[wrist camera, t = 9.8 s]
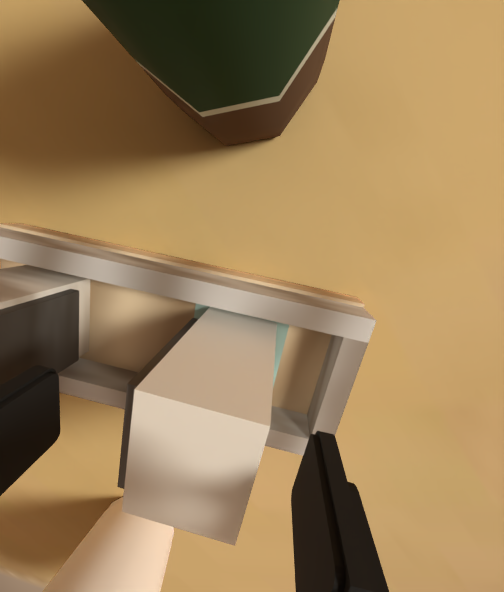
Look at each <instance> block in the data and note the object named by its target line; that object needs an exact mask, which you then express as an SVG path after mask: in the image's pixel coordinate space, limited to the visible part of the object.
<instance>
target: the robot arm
mask: <svg viewBox="0 0 504 592" xmlns="http://www.w3.org/2000/svg"><path fill="white" fill-rule="evenodd" d="M59 434H60V400H59V375H58V374H56V370H55V369H53V368H49V367H45V366H40V365H35V366H33V367H31V368H29V369H28V370H26V371H24V372H23V373H21V374H19V375H17V376H16V377H14V378H12V379H11V380H9V381H7V382H5V383H4V384H2V385H0V496H1V495H2V494H3V493H4V492H5V491H6V490H7V489H8V488H9V487H10V486H11V485H12V484H13V483H14V482H15V481H16V480H17V479H18V478H19V477H20V476H21V475H22V474H23V473H24V472H25V471H26V470H27V469H28V468H29V467H30V466H31V465H32V464H33V463H34V462H35V461H36V460H37V459H38V458H39V457H40V456H42V455H43V454H44V453H45V452H46V451H47V450H48V449H49V448H50V447H51V446H52V445H53V444H54V443H55V441H56V440H57V439H58V437H59ZM291 505H292V525H293V544H294V564H295V583H296V592H389V590H388V587H387V583H386V580H385V577H384V574H383V570H382V567H381V564H380V560H379V557H378V554H377V551H376V547H375V544H374V541H373V538H372V534H371V531H370V528H369V524H368V521H367V518H366V515H365V511H364V508H363V505H362V501H361V498H360V495H359V492H358V489H357V487H356V486H355V484H353V483H350V482H347V479H346V475H345V471H344V468H343V464H342V460H341V457H340V453H339V449H338V446H337V442H336V438H335V436H334V435H333V434H330V433H326V432H321V431H317V432H316V433H315V434H311V435H310V437H309V440H308V443H307V446H306V449H305V452H304V455H303V458H302V461H301V464H300V467H299V470H298V473H297V476H296V479H295V482H294V486H293V489H292V495H291Z"/></svg>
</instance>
